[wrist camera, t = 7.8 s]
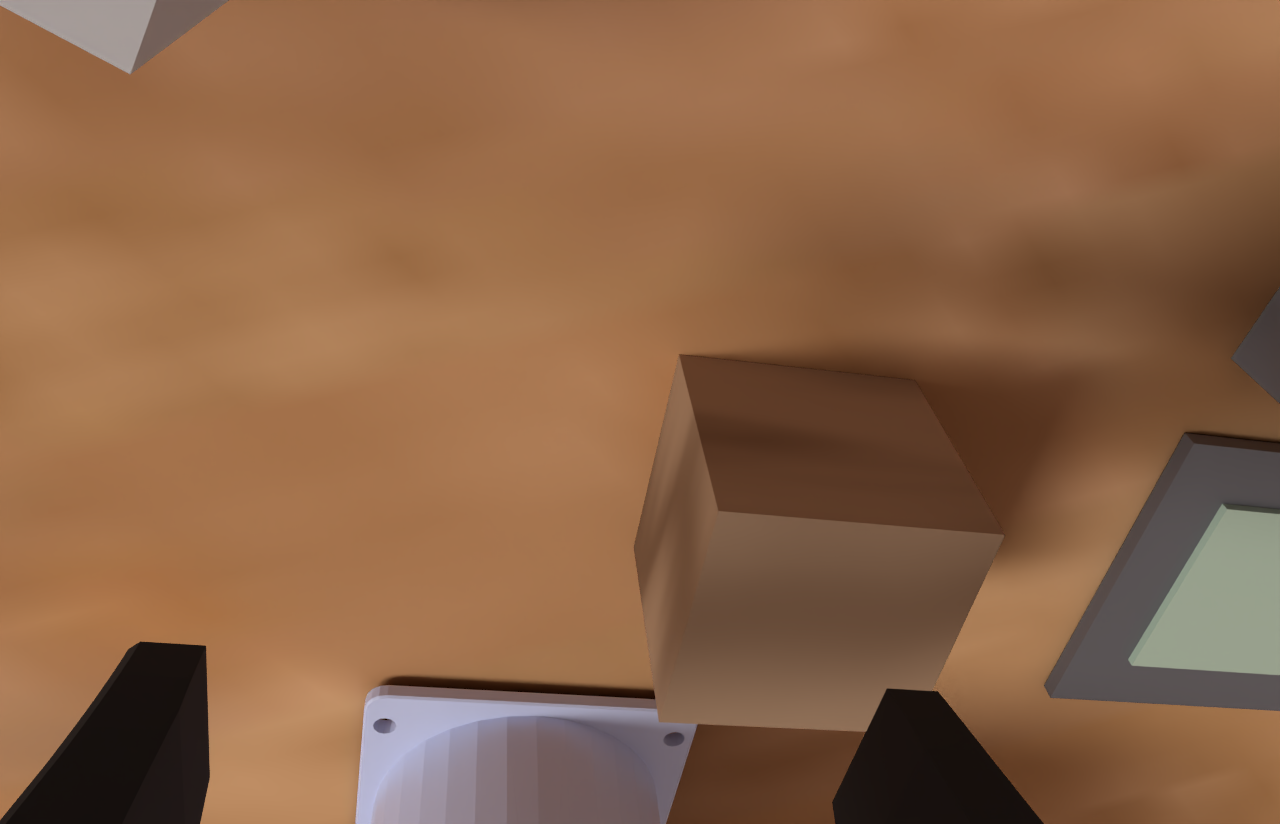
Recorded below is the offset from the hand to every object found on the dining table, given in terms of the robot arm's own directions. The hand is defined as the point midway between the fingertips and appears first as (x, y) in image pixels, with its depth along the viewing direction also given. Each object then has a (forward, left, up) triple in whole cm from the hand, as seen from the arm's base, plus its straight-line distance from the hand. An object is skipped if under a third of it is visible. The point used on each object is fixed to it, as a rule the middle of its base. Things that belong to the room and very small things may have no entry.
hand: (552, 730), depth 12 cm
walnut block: (-4, -6, -11) cm, 12 cm away
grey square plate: (-6, -19, -10) cm, 22 cm away
